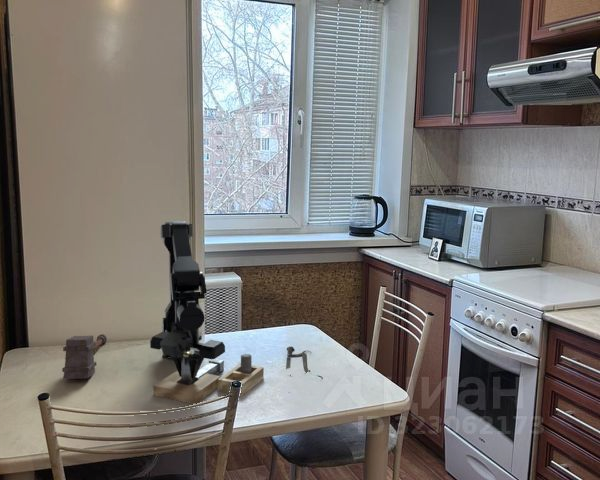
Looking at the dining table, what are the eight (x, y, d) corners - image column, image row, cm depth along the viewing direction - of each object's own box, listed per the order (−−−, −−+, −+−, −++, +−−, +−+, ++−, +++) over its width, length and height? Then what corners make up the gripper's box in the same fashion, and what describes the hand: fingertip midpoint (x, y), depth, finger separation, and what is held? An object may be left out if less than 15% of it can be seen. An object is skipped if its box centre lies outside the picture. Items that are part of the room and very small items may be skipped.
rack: (217, 390, 147) (217, 365, 146) (240, 373, 158) (240, 349, 156) (242, 395, 144) (242, 369, 143) (263, 378, 155) (263, 353, 154)
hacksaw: (286, 349, 178) (286, 345, 177) (320, 350, 178) (320, 346, 177) (284, 382, 154) (284, 376, 154) (323, 382, 154) (323, 377, 154)
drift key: (188, 384, 150) (187, 374, 149) (212, 367, 161) (212, 358, 160) (199, 386, 148) (199, 376, 148) (223, 370, 160) (223, 360, 159)
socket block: (153, 394, 143) (153, 385, 143) (181, 377, 154) (181, 368, 154) (195, 404, 139) (195, 394, 138) (220, 385, 150) (220, 376, 149)
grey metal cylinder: (178, 391, 146) (178, 353, 144) (185, 386, 149) (185, 349, 147) (189, 393, 144) (189, 355, 143) (196, 388, 147) (196, 351, 146)
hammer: (61, 379, 148) (62, 340, 148) (91, 357, 180) (92, 325, 181) (88, 378, 149) (89, 339, 149) (114, 356, 181) (114, 324, 181)
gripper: (135, 321, 139) (136, 382, 142) (202, 332, 133) (202, 396, 135) (162, 309, 150) (163, 366, 152) (226, 319, 143) (226, 379, 145)
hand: (187, 377), depth 146 cm, fingers closed on grey metal cylinder, 3 cm apart
